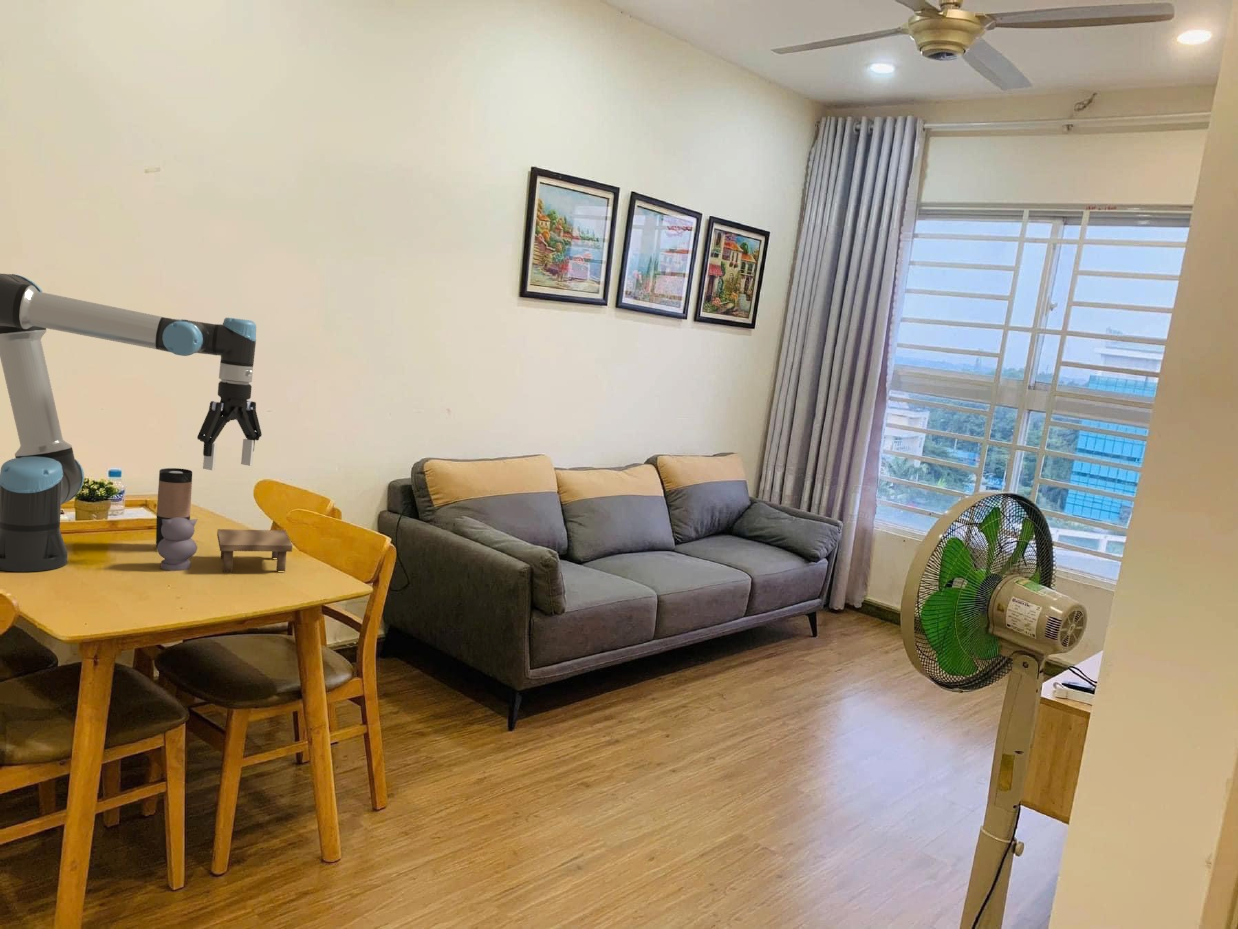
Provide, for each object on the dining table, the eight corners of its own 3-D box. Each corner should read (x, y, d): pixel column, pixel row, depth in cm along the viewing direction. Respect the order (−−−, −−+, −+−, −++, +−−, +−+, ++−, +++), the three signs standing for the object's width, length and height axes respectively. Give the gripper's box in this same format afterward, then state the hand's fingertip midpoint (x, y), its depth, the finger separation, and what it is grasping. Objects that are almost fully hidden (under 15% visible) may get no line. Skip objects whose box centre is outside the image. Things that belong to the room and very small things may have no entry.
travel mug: (194, 547, 235) (198, 470, 232) (177, 553, 227) (181, 474, 224) (166, 543, 235) (170, 467, 233) (148, 549, 228) (152, 470, 225)
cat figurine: (191, 562, 221) (194, 513, 220) (199, 570, 215) (202, 520, 214) (152, 563, 216) (155, 514, 214) (159, 572, 210) (162, 521, 208)
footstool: (218, 573, 214) (220, 544, 213) (215, 556, 228) (217, 529, 228) (290, 573, 221) (292, 545, 221) (283, 556, 236) (285, 530, 235)
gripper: (212, 383, 210) (204, 474, 213) (280, 384, 234) (273, 465, 237) (185, 379, 212) (178, 468, 215) (256, 380, 236) (248, 460, 239)
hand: (228, 467), depth 226 cm, fingers open, 13 cm apart
